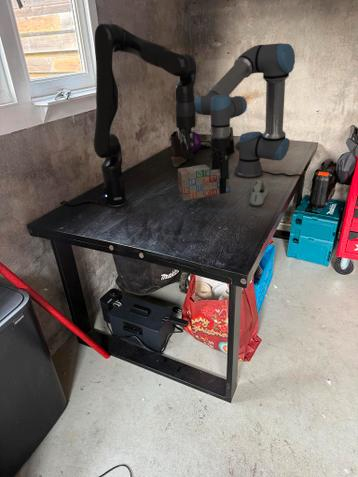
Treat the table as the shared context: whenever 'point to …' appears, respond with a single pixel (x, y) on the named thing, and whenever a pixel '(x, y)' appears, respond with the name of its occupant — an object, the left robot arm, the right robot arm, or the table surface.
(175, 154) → the boot
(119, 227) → the table surface
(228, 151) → the handbag
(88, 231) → the table surface
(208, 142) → the pair of gloves
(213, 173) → the stack of blocks
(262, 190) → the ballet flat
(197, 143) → the decorative orb
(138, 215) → the table surface
